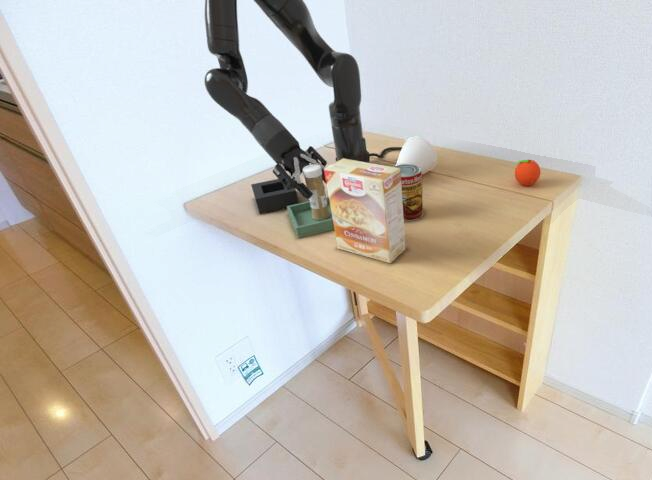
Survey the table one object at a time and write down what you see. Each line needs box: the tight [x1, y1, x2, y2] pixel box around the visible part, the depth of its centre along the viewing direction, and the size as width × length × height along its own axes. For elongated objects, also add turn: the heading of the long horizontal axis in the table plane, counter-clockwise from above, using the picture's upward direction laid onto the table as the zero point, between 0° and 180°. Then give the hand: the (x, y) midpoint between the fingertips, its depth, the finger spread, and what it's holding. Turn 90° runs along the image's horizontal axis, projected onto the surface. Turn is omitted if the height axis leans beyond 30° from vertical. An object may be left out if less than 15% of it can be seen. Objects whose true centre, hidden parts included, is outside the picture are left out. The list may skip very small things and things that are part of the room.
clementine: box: [514, 159, 541, 187], centre depth 122 cm, size 8×7×7 cm
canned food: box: [393, 164, 424, 222], centre depth 111 cm, size 8×8×12 cm
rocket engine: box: [394, 135, 438, 176], centre depth 128 cm, size 12×12×18 cm
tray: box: [286, 196, 335, 239], centre depth 114 cm, size 16×14×3 cm
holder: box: [251, 178, 300, 215], centre depth 124 cm, size 11×11×4 cm
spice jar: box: [302, 164, 330, 220], centre depth 110 cm, size 5×5×13 cm
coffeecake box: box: [324, 158, 407, 264], centre depth 96 cm, size 15×7×20 cm, turn 58°
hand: (321, 190), depth 109 cm, fingers open, 8 cm apart
